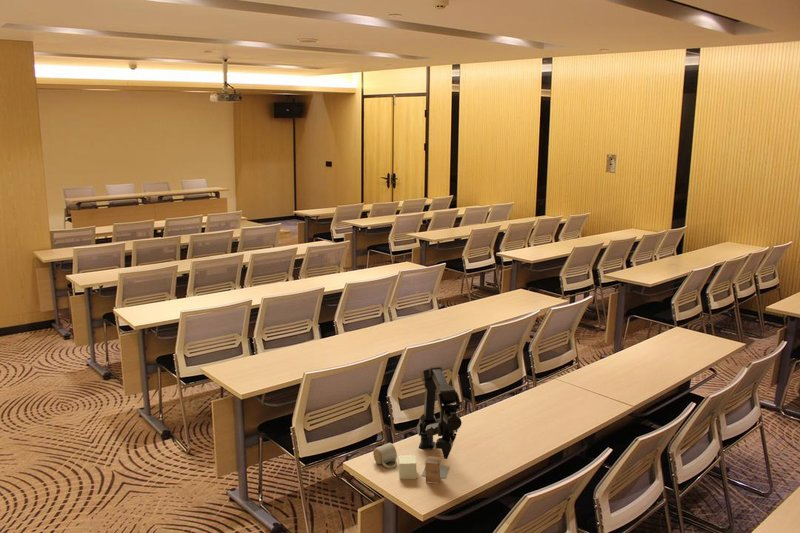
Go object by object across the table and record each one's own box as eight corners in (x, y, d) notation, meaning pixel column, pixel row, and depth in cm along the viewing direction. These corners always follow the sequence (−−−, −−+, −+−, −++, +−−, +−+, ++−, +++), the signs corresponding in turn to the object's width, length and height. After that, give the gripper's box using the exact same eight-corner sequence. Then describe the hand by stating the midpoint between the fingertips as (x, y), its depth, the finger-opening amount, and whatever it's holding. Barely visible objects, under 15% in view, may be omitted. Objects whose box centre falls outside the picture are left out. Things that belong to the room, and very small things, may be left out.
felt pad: (426, 464, 292) (426, 464, 292) (449, 466, 290) (449, 466, 290) (421, 476, 283) (421, 475, 283) (445, 478, 280) (445, 478, 280)
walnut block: (427, 475, 283) (427, 456, 280) (439, 477, 281) (439, 457, 279) (425, 482, 278) (425, 462, 276) (437, 483, 277) (437, 463, 274)
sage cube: (398, 470, 287) (398, 455, 286) (415, 470, 288) (415, 455, 286) (399, 479, 281) (399, 463, 279) (416, 478, 281) (416, 463, 279)
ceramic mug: (372, 460, 296) (372, 444, 294) (388, 455, 300) (388, 439, 298) (384, 471, 287) (384, 454, 285) (401, 466, 291) (401, 449, 290)
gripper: (431, 408, 282) (431, 443, 286) (422, 427, 265) (422, 464, 268) (458, 410, 280) (457, 445, 283) (451, 430, 262) (450, 467, 265)
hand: (446, 455), depth 275 cm, fingers open, 5 cm apart
